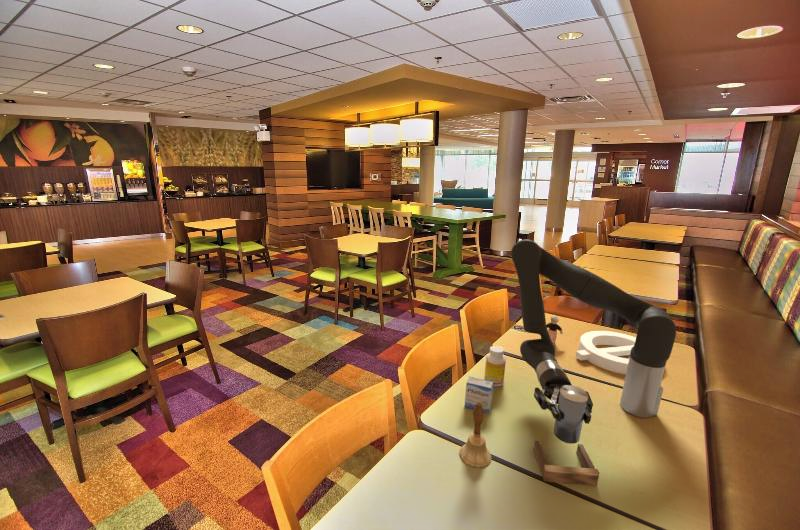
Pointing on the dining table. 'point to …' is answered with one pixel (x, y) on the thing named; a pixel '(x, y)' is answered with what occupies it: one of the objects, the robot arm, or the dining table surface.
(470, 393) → the medicine box
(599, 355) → the ring with crossbar
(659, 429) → the dining table surface
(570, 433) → the tin
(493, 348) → the supplement bottle
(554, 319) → the grandmother figurine
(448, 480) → the dining table surface
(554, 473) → the wooden u-shaped bracket
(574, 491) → the dining table surface
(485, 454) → the hand bell
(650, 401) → the robot arm
